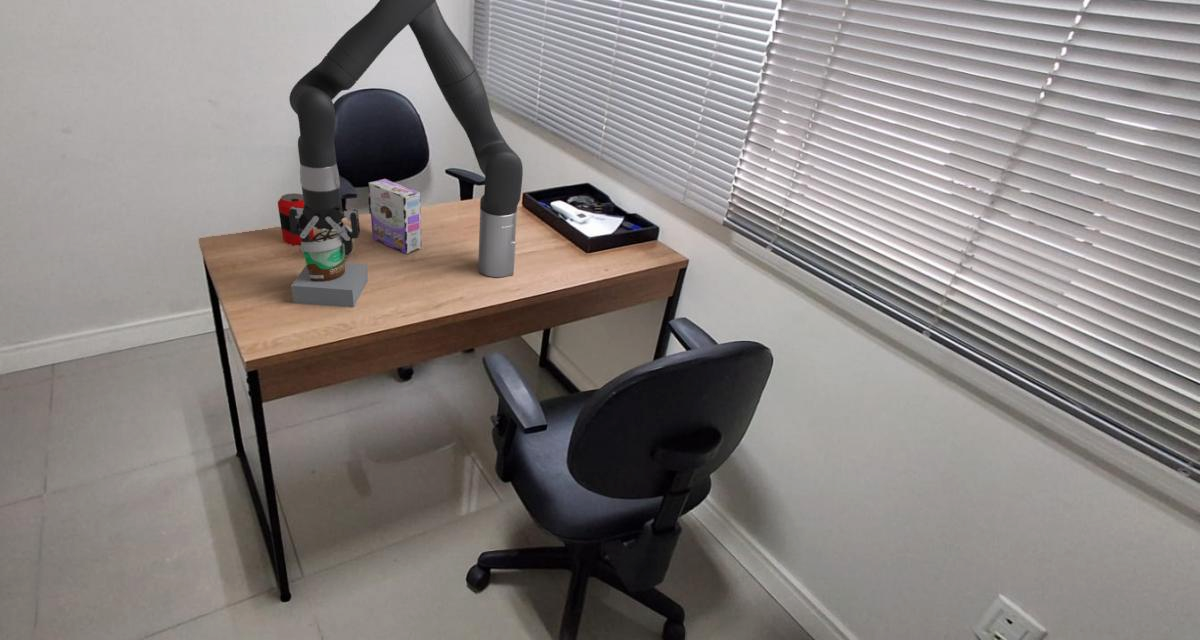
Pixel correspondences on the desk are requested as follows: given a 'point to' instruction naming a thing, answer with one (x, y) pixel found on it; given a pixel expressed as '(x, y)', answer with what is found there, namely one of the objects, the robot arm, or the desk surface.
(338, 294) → the grey block
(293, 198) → the soda can
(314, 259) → the food container
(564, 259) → the desk surface
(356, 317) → the desk surface
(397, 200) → the candy box
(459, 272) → the desk surface
